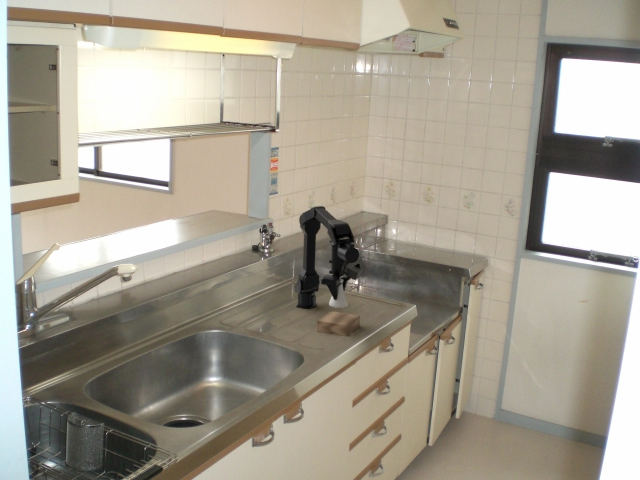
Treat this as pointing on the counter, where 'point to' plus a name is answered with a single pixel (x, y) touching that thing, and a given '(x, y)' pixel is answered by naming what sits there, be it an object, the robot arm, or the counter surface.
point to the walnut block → (338, 323)
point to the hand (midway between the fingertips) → (338, 297)
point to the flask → (339, 298)
